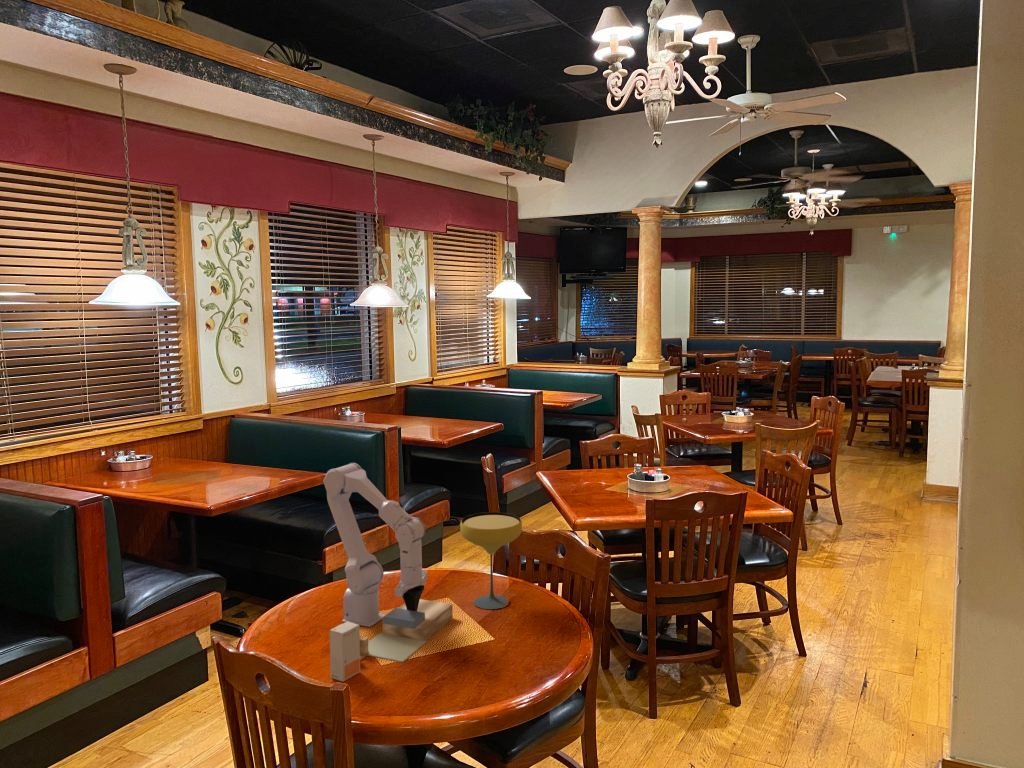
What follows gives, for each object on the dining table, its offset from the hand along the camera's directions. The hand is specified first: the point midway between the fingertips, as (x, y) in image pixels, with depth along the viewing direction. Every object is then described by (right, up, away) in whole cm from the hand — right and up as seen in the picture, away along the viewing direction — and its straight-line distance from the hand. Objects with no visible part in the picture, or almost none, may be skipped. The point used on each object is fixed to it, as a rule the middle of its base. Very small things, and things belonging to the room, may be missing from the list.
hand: (412, 612), depth 207 cm
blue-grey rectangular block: (-2, -1, -4) cm, 4 cm away
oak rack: (-13, -7, -15) cm, 21 cm away
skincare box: (-13, -8, -24) cm, 28 cm away
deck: (+1, -5, +4) cm, 6 cm away
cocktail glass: (+21, -3, +19) cm, 29 cm away
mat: (-4, -6, -10) cm, 12 cm away
